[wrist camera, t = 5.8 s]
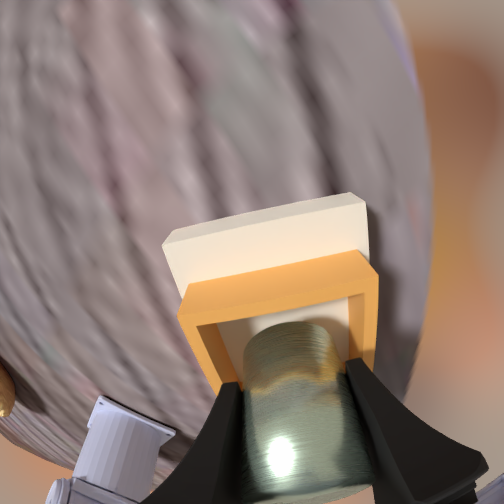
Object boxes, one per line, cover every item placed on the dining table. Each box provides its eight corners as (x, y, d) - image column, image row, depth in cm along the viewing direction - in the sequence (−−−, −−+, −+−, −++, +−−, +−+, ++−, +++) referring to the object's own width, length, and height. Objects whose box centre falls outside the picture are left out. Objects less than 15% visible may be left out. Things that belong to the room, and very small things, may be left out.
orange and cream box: (357, 361, 17) (375, 410, 13) (233, 385, 18) (230, 437, 14) (350, 192, 13) (392, 219, 9) (173, 229, 14) (142, 271, 9)
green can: (294, 392, 14) (309, 508, 7) (225, 364, 12) (215, 502, 6) (353, 344, 12) (399, 474, 6) (282, 305, 11) (309, 475, 5)
